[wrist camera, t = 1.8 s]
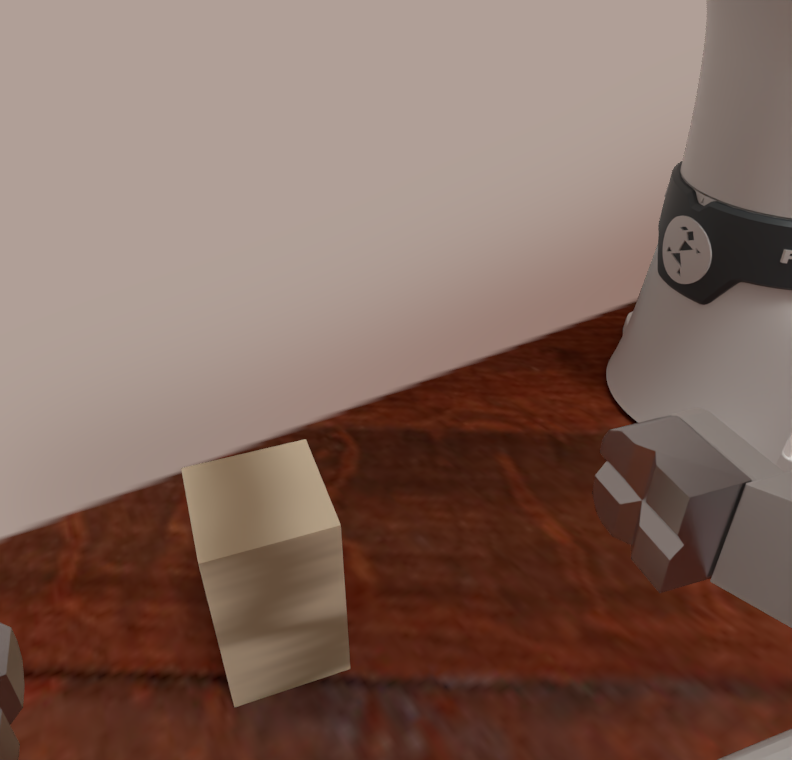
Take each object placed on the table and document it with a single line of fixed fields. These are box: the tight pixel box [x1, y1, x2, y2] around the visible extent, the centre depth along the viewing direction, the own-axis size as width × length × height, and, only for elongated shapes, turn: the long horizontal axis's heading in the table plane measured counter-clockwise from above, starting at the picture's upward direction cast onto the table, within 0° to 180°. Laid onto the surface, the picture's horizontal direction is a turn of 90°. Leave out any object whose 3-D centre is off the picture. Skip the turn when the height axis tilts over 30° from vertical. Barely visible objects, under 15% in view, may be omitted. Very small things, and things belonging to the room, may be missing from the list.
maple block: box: [181, 439, 350, 708], centre depth 29 cm, size 5×5×9 cm
